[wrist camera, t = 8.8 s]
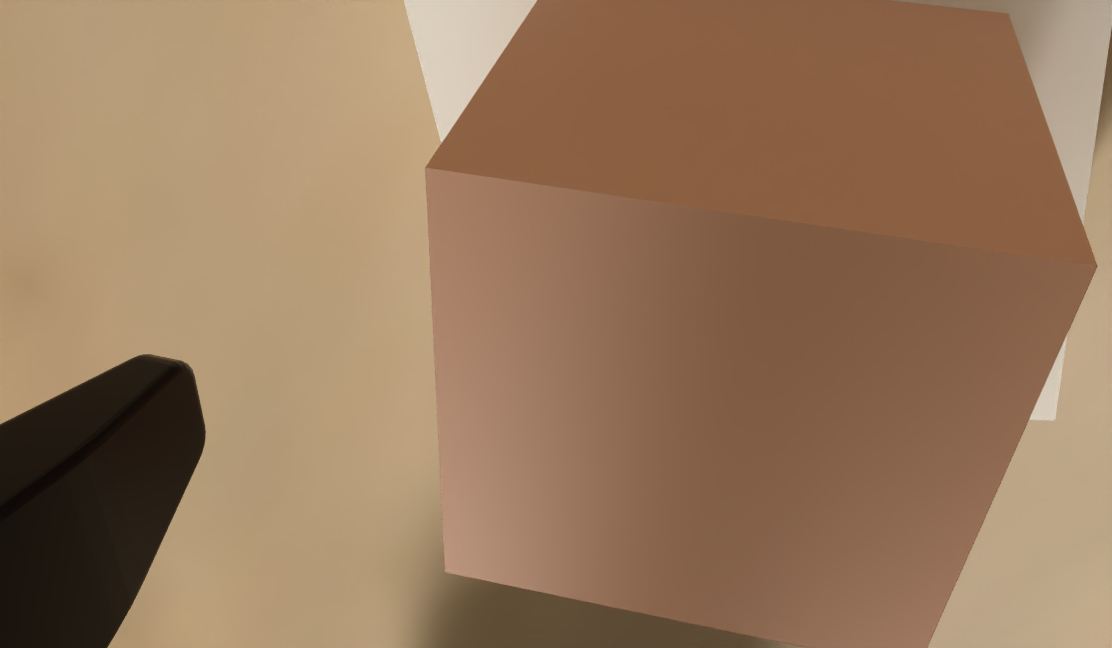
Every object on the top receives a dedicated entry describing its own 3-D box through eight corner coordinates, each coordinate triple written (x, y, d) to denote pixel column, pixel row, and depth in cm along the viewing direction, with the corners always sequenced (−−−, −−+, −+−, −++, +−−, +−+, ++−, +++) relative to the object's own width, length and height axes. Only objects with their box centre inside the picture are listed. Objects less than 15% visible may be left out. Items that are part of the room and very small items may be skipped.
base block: (1016, 262, 17) (1055, 420, 14) (564, 274, 19) (512, 411, 16) (1071, -273, 13) (1146, -213, 10) (473, -178, 15) (375, -106, 12)
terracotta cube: (896, 362, 14) (916, 670, 10) (547, 305, 15) (444, 571, 11) (1008, 13, 11) (1095, 266, 7) (561, -37, 12) (424, 167, 8)
